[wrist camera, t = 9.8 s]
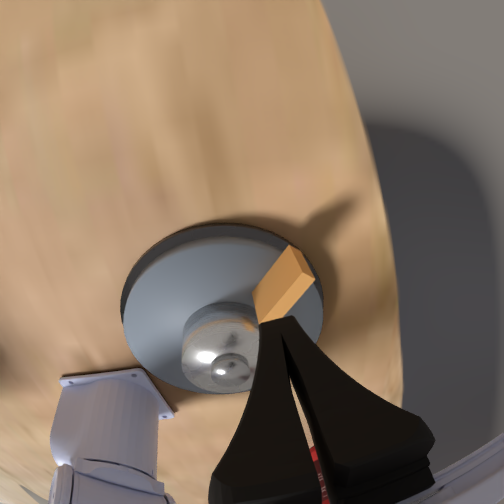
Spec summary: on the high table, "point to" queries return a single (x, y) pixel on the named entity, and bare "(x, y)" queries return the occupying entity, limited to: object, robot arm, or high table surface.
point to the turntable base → (205, 232)
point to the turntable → (214, 296)
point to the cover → (221, 347)
